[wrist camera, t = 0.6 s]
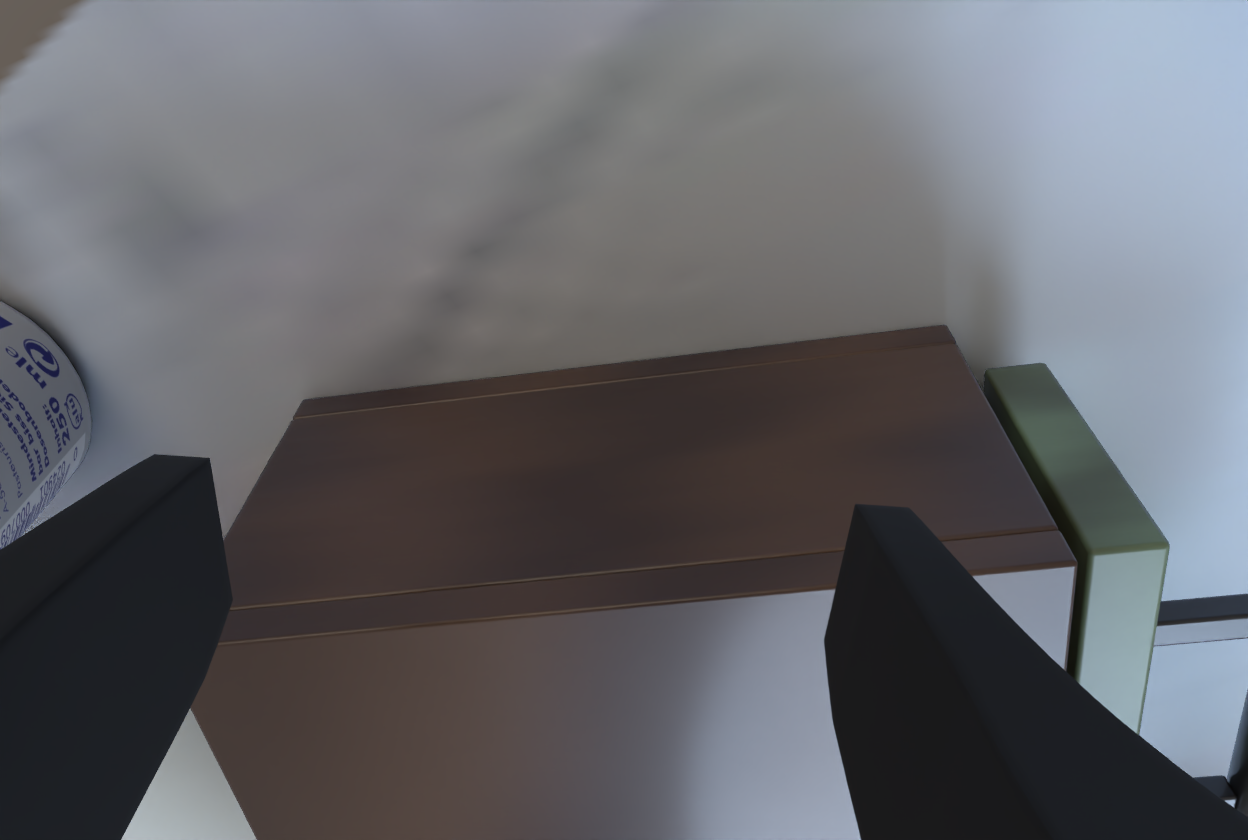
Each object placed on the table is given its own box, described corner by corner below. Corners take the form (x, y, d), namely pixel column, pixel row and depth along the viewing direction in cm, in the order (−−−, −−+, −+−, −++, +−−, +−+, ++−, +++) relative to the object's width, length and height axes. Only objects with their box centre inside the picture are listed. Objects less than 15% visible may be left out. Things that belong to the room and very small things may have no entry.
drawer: (1286, 333, 20) (1496, 512, 15) (1195, 768, 26) (1321, 994, 21) (427, 430, 21) (360, 621, 17) (538, 817, 28) (513, 1039, 23)
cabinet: (947, 322, 21) (1080, 561, 14) (938, 774, 28) (1025, 1072, 21) (301, 398, 22) (157, 649, 16) (447, 811, 29) (389, 1104, 23)
